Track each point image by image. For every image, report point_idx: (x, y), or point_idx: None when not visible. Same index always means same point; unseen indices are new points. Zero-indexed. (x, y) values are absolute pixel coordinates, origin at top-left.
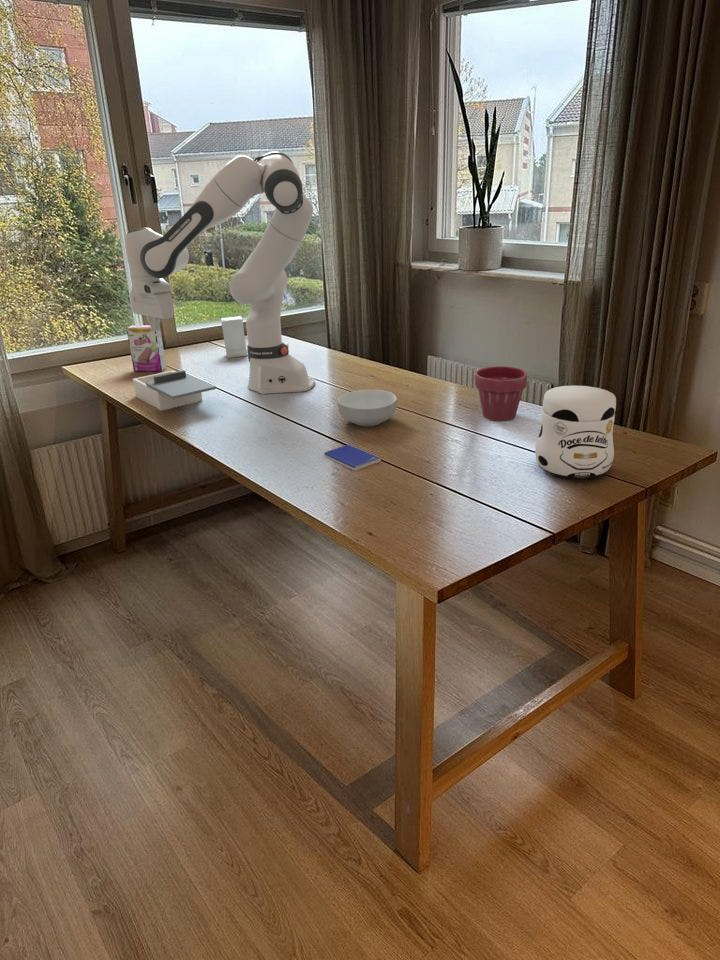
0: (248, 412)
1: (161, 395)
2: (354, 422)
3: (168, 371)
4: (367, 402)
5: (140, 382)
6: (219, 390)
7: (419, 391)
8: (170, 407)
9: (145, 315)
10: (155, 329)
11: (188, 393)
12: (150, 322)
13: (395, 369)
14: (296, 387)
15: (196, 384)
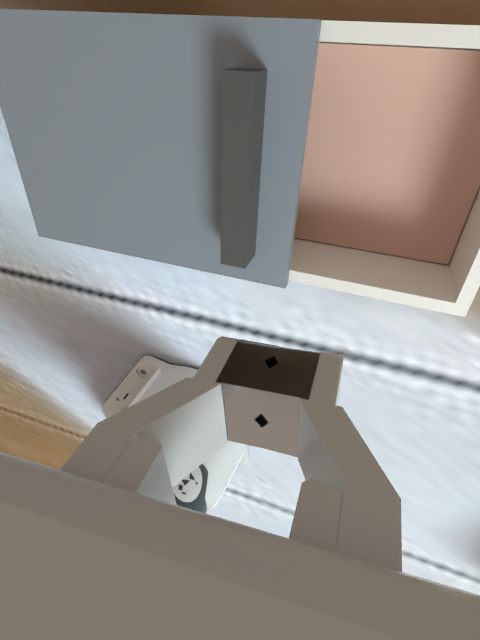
0: (26, 237)
1: None
2: None
3: (474, 294)
4: None
5: (437, 30)
6: (265, 329)
7: (15, 456)
8: None
9: (336, 554)
10: (214, 347)
11: (3, 105)
12: (312, 437)
13: None
14: (117, 408)
15: (97, 206)
